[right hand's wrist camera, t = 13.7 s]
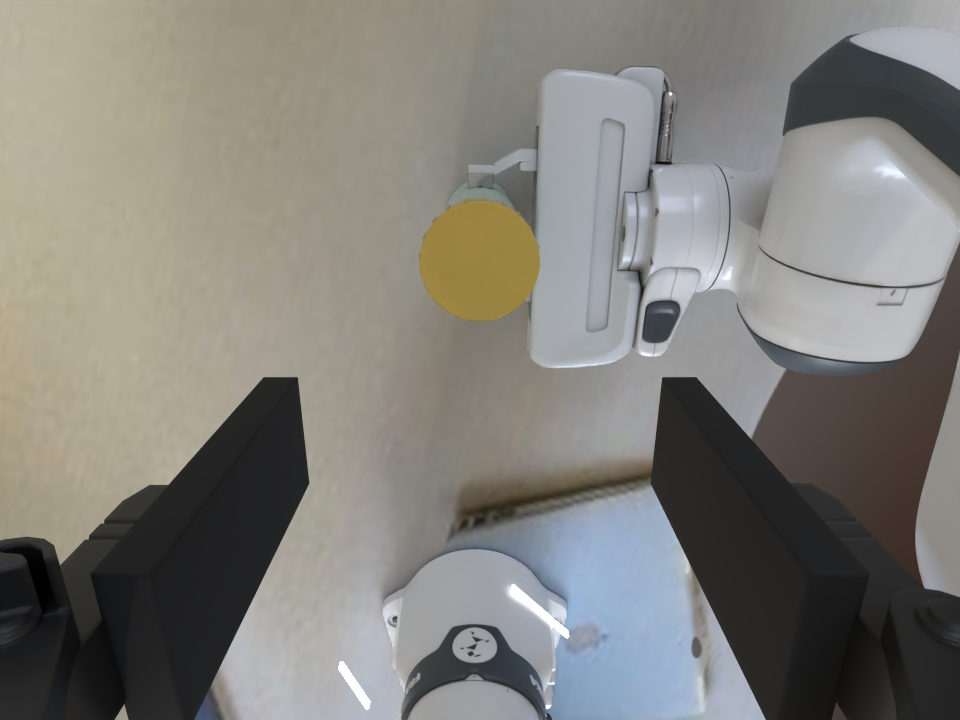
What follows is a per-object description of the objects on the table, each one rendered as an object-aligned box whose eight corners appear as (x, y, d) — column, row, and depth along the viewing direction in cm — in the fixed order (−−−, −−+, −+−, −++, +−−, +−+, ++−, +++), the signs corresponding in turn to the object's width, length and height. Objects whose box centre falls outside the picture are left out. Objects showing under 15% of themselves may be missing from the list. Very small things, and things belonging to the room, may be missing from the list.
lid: (535, 192, 32) (538, 196, 30) (539, 307, 34) (543, 318, 32) (416, 201, 32) (412, 205, 30) (428, 315, 34) (425, 326, 32)
